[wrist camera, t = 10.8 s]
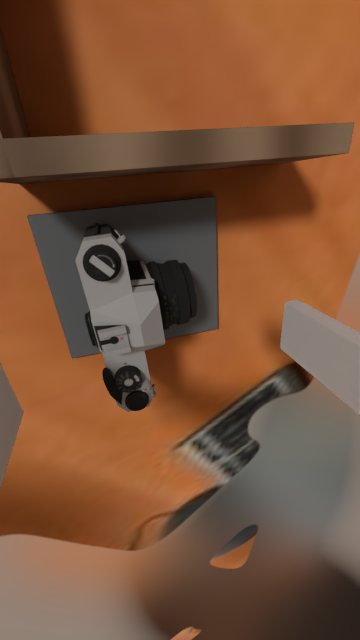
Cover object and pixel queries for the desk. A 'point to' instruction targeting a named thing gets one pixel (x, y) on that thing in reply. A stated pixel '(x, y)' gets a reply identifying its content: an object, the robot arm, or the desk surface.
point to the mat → (131, 257)
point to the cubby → (149, 146)
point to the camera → (130, 310)
